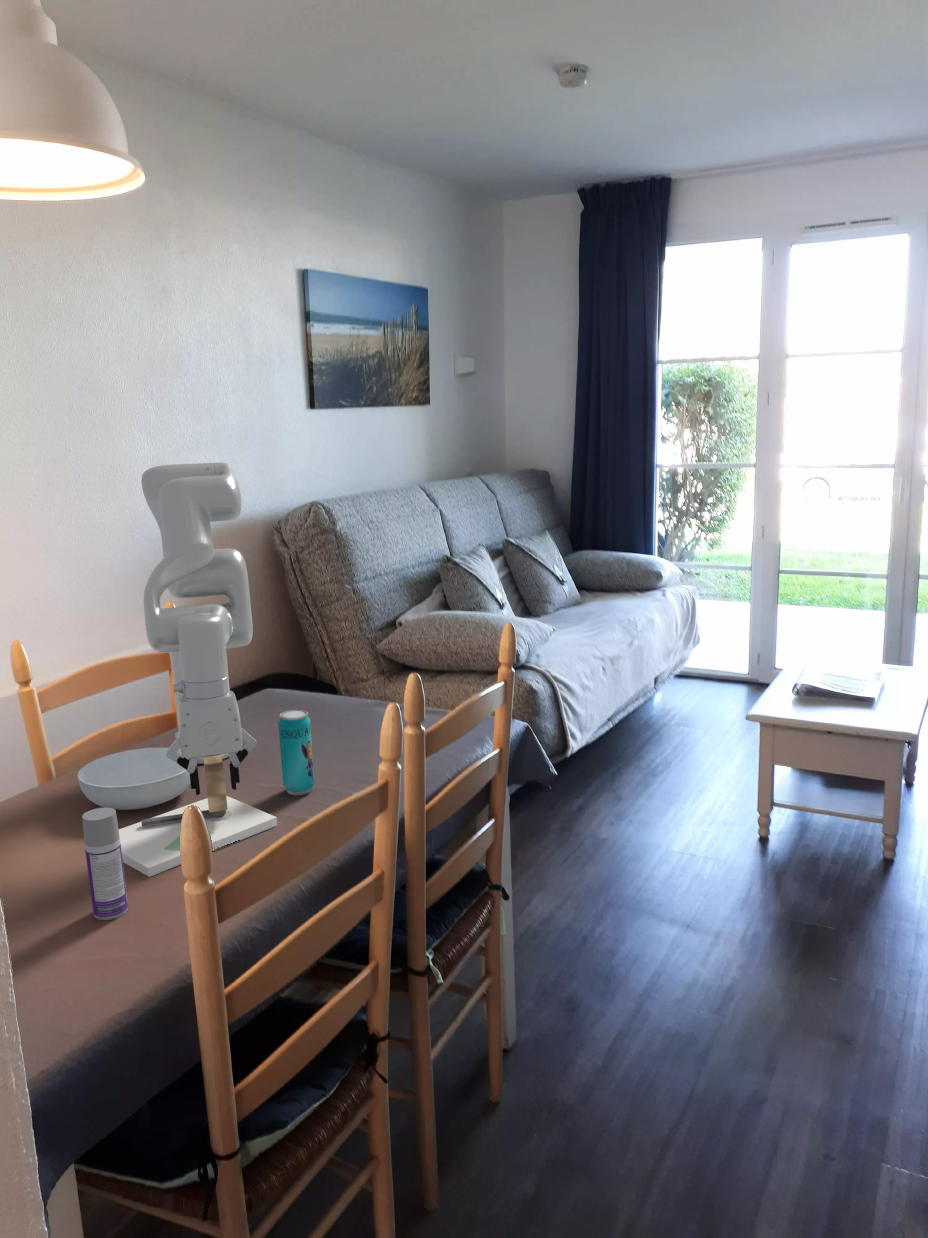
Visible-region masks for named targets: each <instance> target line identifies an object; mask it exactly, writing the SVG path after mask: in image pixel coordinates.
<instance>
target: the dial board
mask: <svg viewBox="0 0 928 1238" xmlns="http://www.w3.org/2000/svg"><path fill="white" fill-rule="evenodd" d="M226 798H227V809H228V810H226V814H225V815H223V816H219V817H213V816H208V817H204V818H205V820H206V823H207V826H208V831H209V833H210V836H211V840H212V846H213V852H215V851H214V847H215V849H216V848H217V847H221V846H224V845H227V844H230V843H232V844H234V843H233V842H235V841H237V842H239V841H238V840H240V841H242V840H244V839H248V838H249V837H252V836H255V835H257V834H259V833H263V832H265V831H267V830H269V829H273V828H274V827H277V826H278V818H277V816H275V815H272V814H270V813H267V812H265V811H264V810H260V809H259V808H256V807H254V806H251V805H249V804H246V803H244V802H242V801H239V800H237V799H235V798H232V797H231V796H228V795H226ZM191 805H194V806H197V807H199V808H200V810H201V811H205V810H209V806H208V798H207V797H206V798H204V799H201V800H200V799H199V800H198V801H195V802H192V803H190V804H187V805H184V806H181V807H179V808H176V809H172V810H170V811H167V812H165V813H161V814H159V815H156V816H152V818H157V817H163V816H170V815H177V814H183V812H184V810H185V809H186V808H187V807H188V806H191ZM180 827H181V821H174V822H167V823H160V824H154V825H147V826H142V820H141V821H139V822H137V823H133V824H131V825H128V826H125V827H122V828H118V830H119V836H120V843H121V851H122V859H123V864H126V865H128V866H129V867H131V868H133V869H134V870H136V871H138V872H139V873H141V874H143V875H145V876H147V877H148V878H150V877H153V876H155V875H157V874H161V873H162V872H166V871H168V870H171V869H172V868H174V867H178V866H180V865H182V864H181V859H180ZM235 843H236V842H235ZM230 845H231V844H230Z"/></svg>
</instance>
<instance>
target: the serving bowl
mask: <svg viewBox="0 0 928 1238" xmlns="http://www.w3.org/2000/svg"><path fill="white" fill-rule="evenodd" d="M168 749H169V747H144V748H143V747H142V748H136V749H128V750H124V751H119V752H115V753H111V754H108V755H104V756H102V757H101V756H100V757H98V758H96V759H94V760H92V761H90V762H88V763H86V764H85V765H84V766H82V767H81V768H80V769H79V771H78V772H77V777H76V778H77V781H78V785H79V788H80V790H81V791H82V793H83V795H84V796H85V797H86V798H87V799H88V800H89V801H90V802H92V803H94V804H95V805H97V806H99V807H101V808H113V809H115V810H119V811H120V810H121V811H122V810H123V811H125V810H129V811H130V810H141V809H147V808H151V807H155V806H158V805H161V804H164V803H166V802H169V801H171V800H173V799H174V798H176V797H178V796H180V795H181V794H182V793H183V792H185V790H187V789H188V788H189V786H191V783H190V773H188V771H187V770H186V769H184V768H183V767H181V766H180V765H179V764H178V763H176V762H174V761H173V760H171V759H169V758H168V757H167V756H166V751H167V750H168ZM177 753H179V754H180V755H182V753H181V749H179V750H178V751H177ZM182 756H183V755H182ZM187 759H188V758H187ZM197 765H198V764H197V763H196V766H197Z"/></svg>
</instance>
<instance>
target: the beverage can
mask: <svg viewBox="0 0 928 1238" xmlns="http://www.w3.org/2000/svg"><path fill="white" fill-rule="evenodd" d="M308 715H309V712H308V711H307V710H304V709H292V710H291V709H290V710H286V711H283V712H281V713H280V714H279V721H278V723H277V725H278V735H279V749H280V761H281V774H282V784H283V786H284V789H285V791H286V793H287V794H289V795H291V796H303V795H306V794H309V793H310V792H311V791H312V790H313V786H314V784H315V770H314V757H313V743H312V742H313V741H312V731H311V730H312V728H311V719H310V717H309V716H308Z"/></svg>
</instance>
